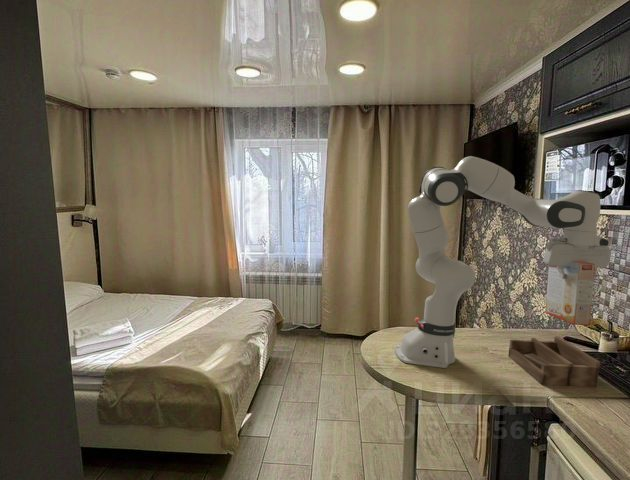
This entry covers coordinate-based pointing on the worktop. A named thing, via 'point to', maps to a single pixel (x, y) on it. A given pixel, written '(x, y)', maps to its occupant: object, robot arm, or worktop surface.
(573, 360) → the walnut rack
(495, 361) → the worktop surface
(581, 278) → the cracker box
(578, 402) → the worktop surface
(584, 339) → the worktop surface
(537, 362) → the dark stained offcut
